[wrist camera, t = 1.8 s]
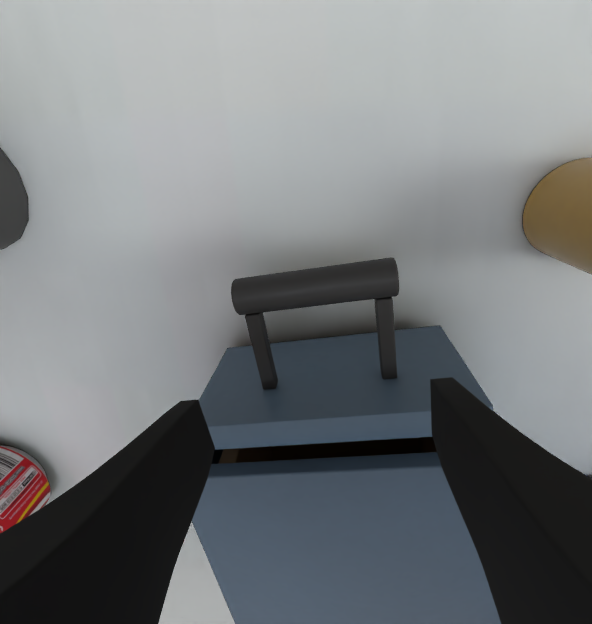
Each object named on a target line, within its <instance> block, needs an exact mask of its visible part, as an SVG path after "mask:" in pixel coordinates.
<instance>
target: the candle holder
mask: <svg viewBox="0 0 592 624" xmlns="http://www.w3.org/2000/svg"><path fill="white" fill-rule="evenodd" d="M27 222H28V197H27V194H26V191H25V189H24V186H23V184H22V181H21V178H20V176H19V173H18V171H17V170H16V168H15V167H14V166H13V164H12V163H11V162H10V160H9V159H8V158H7V156H6V155H5V154H4V152H3V151H2V150H1V148H0V249H4V248H6V247H8V246H9V245H11V244H12V243H14V242H15V241H17V240H18V239H20V237H21V235H22V233H23V231H24V229H25V226H26V224H27Z"/></svg>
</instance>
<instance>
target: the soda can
mask: <svg viewBox="0 0 592 624" xmlns="http://www.w3.org/2000/svg"><path fill="white" fill-rule="evenodd" d="M50 494H51V491H50V485H49V482H48V480H47V476H46V473H45V471H44V469H43V467H42V466H41V465H40V464H39V462H38V461H36V460H35V459H34V458H33V457H32V456H30V455H29V454H27V453H25V452H24V451H21V450H19V449H17V448H14V447H10V446H1V445H0V533H2V532H4V531H5V530H7V529H8V528H10V527H12V526H13V525H15V524H17V523H18V522H20V521H21V520H23V519H25V518H26V517H28V516H30V515H31V514H33V513H34V512H36V511H38V510H39V509H41V508H42V507H44V506H45V505H46V503H47V502H48V500H49V498H50Z"/></svg>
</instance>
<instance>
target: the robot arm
mask: <svg viewBox="0 0 592 624" xmlns="http://www.w3.org/2000/svg"><path fill="white" fill-rule="evenodd" d="M430 388H431V426H432V436H433V440H434V443H435V447H436V450H437V454H438V457H439V460H440V464H441V467H442V469H443V472H444V474H445V477H446V479H447V482H448V484H449V486H450V489H451V491H452V494H453V496H454V498H455V501H456V503H457V505H458V508H459V510H460V512H461V515H462V517H463V520H464V522H465V524H466V527H467V529H468V531H469V534H470V536H471V538H472V541H473V543H474V546H475V548H476V551H477V553H478V556H479V558H480V561H481V564H482V566H483V569H484V572H485V575H486V578H487V581H488V584H489V587H490V591H491V594H492V597H493V600H494V603H495V606H496V609H497V612H498V615H499V618H500V621H501V624H592V478H589V477H587V476H586V475H584V474H583V473H581V472H579V471H578V470H576V469H574V468H573V467H571V466H570V465H568V464H566V463H565V462H563V461H561V460H560V459H558V458H557V457H555V456H554V455H552V454H551V453H549V452H548V451H546V450H545V449H543V448H542V447H541V446H539V445H538V444H536V443H535V442H533V441H532V440H531V439H529V438H528V437H526V436H525V435H523V434H522V433H521V432H519V431H518V430H517V429H515V428H514V427H513V426H511V425H510V424H509V423H508V422H506V421H505V420H504V419H502V418H501V417H500V416H499V415H497V414H496V413H495V412H494V411H492V410H491V409H490V408H489V407H487V406H486V405H485V404H484V403H483V402H481V401H480V400H479V399H478V398H477V397H475V396H474V395H473V394H472V393H471V392H469V391H468V390H467V389H466V388H465V387H464V386H462V385H461V384H460V383H459V382H458V381H456V380H455V379H454V378H453V377H449V378H437V379H430ZM214 450H215V446H214V443H213V441H212V438H211V435H210V432H209V429H208V426H207V423H206V421H205V418H204V415H203V412H202V409H201V406H200V403H199V401H198V400H189V401H180V402H179V403H178V404H176V405H175V406H174V407H172V408H171V409H170V410H169V411H167V412H166V413H165V414H164V415H162V416H161V417H160V418H159V419H158V420H157V421H155V422H154V423H153V424H152V425H151V426H149V427H148V428H147V429H146V430H145V431H144V432H142V433H141V434H140V435H139V436H138V437H136V438H135V439H134V440H133V441H132V442H130V443H129V444H128V445H127V446H126V447H125V448H123V449H122V450H121V451H119V452H118V453H117V454H116V455H114V456H113V457H112V458H111V459H109V460H108V461H107V462H106V463H104V464H103V465H102V466H100V467H99V468H98V469H97V470H95V471H94V472H93V473H91V474H90V475H89V476H87V477H86V478H85V479H83V480H82V481H81V482H79V483H78V484H76V485H75V486H74V487H72V488H71V489H69V490H68V491H66V492H65V493H63V494H62V495H61V496H59V497H58V498H56V499H55V500H53V501H52V502H50V503H49V504H47V505H46V506H44V507H42V508H41V509H39V510H38V511H36V512H34V513H33V514H31V515H30V516H28V517H26V518H25V519H23V520H21V521H20V522H18V523H17V524H15V525H13V526H12V527H10V528H8V529H7V530H5V531H4V532H2V533H0V624H158V622H159V619H160V615H161V611H162V607H163V604H164V600H165V597H166V594H167V590H168V587H169V583H170V580H171V576H172V573H173V569H174V567H175V564H176V561H177V558H178V555H179V552H180V550H181V547H182V544H183V542H184V539H185V537H186V534H187V531H188V529H189V526H190V524H191V521H192V518H193V516H194V513H195V511H196V508H197V506H198V503H199V500H200V498H201V495H202V492H203V490H204V487H205V484H206V481H207V479H208V475H209V471H210V467H211V463H212V459H213V454H214Z"/></svg>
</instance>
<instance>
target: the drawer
mask: <svg viewBox="0 0 592 624" xmlns="http://www.w3.org/2000/svg"><path fill="white" fill-rule="evenodd" d="M398 293H399V277H398V270H397V265H396V262H395V260H394V258H385V259H378V260H370V261H363V262H356V263H349V264H341V265H334V266H327V267H320V268H312V269H305V270H298V271H291V272H283V273H276V274H269V275H261V276H254V277H247V278H240V279H235V280H234V281H233V282H232V287H231V295H232V302H233V306H234V308H235V311H236V312H237V313H238V314H239V315H245V314H246V315H245V319H246V323H247V327H248V331H249V335H250V339H251V343H252V346H243V347H233V348H227V350H226V352H225V353H224V355H223V357H222V359H221V361H220V363H219V364H218V366H217V368H216V370H215V372H214V374H213V375H212V377H211V379H210V381H209V383H208V385H207V387H206V388H205V390H204V392H203V394H202V396H201V398H200V399H199V403H200V406H201V409H202V412H203V415H204V418H205V421H206V423H207V426H208V429H209V432H210V435H211V438H212V441H213V443H214V446H215V450H219V449H224V450H223V452H222V455H221V458H220V460H219V463H218V464H221V463H240V462H259V461H277V460H296V459H315V458H334V457H352V456H371V455H390V454H409V453H427V452H437V450H436V447H435V443H434V440H433V436H432V426H431V388H430V379H437V378H449V377H453V378H454V379H455V380H456V381H458V382H459V383H460V384H461V385H462V386H464V387H465V388H466V389H467V390H468V391H469V392H471V393H472V394H473V395H474V396H475V397H477V398H478V399H479V400H480V401H481V402H483V403H484V404H485V405H486V406H487V407H489V408H490V409H491V410H492V411H493V405H492V404H491V402H490V401H489V399H488V398H487V396H486V395H485V393H484V391H483V390H482V388H481V387H480V385H479V384H478V382H477V381H476V379H475V378H474V376H473V375H472V373H471V372H470V370H469V369H468V367H467V366H466V364H465V363H464V361H463V360H462V358H461V356H460V355H459V353H458V352H457V350H456V349H455V347H454V346H453V344H452V343H451V341H450V340H449V338H448V337H447V335H446V334H445V332H444V331H443V329H442V328H441V326H431V327H421V328H412V329H403V330H394V315H393V300H392V297H394V296H397V295H398ZM369 299H374V300H375V311H376V323H377V332H374V333H365V334H356V335H346V336H337V337H327V338H318V339H308V340H299V341H290V342H280V343H271V344H270V343H269V339H268V334H267V330H266V325H265V321H264V316H263V312H270V311H278V310H286V309H294V308H303V307H311V306H319V305H328V304H336V303H344V302H352V301H361V300H369Z"/></svg>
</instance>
